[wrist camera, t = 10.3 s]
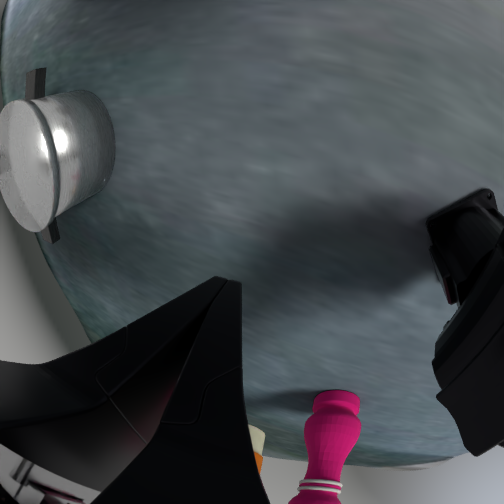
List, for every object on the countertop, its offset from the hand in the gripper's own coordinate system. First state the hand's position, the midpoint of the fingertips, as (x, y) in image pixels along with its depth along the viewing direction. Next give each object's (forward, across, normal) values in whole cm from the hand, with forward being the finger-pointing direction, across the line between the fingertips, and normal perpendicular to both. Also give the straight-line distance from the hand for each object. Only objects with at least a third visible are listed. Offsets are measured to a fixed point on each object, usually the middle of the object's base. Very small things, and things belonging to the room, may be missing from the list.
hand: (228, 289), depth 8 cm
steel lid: (+6, +25, -1) cm, 26 cm away
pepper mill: (+12, -12, +27) cm, 32 cm away
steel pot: (+14, +22, -1) cm, 26 cm away
